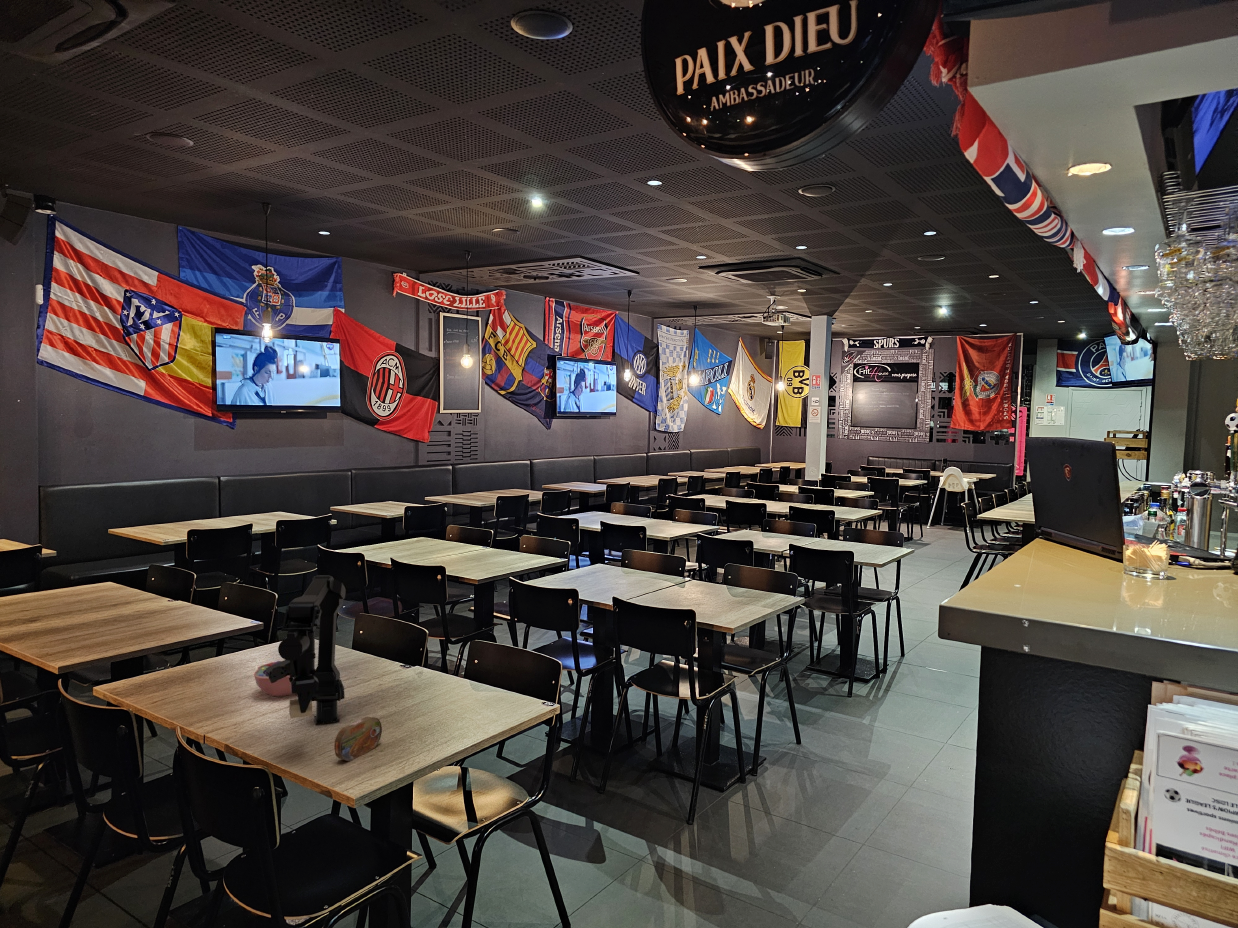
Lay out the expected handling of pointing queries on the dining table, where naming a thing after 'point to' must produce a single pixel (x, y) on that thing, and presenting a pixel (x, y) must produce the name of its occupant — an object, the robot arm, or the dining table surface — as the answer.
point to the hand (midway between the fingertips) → (302, 709)
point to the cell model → (273, 689)
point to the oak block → (298, 709)
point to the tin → (358, 738)
